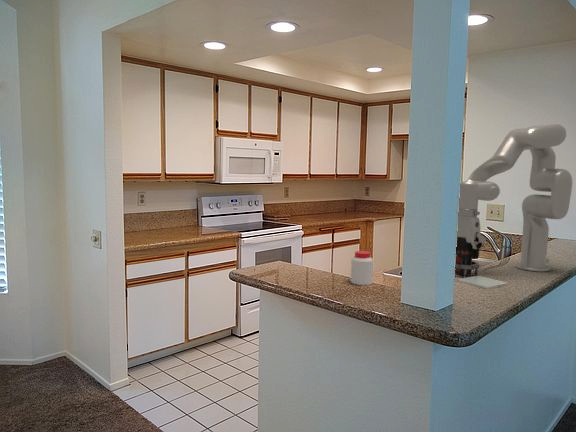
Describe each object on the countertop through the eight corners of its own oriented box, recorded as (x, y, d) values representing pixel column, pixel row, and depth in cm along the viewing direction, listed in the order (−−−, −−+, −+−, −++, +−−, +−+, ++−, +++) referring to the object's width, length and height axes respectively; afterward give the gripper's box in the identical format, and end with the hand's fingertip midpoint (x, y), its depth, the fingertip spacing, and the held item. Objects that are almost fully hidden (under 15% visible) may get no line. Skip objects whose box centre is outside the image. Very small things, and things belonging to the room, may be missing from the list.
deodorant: (472, 276, 171) (474, 238, 169) (456, 275, 172) (458, 238, 170) (469, 273, 177) (471, 236, 175) (453, 272, 178) (456, 235, 176)
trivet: (477, 277, 170) (478, 275, 170) (507, 284, 160) (507, 282, 160) (457, 281, 163) (458, 279, 163) (487, 289, 153) (487, 286, 153)
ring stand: (459, 270, 182) (460, 258, 181) (483, 276, 173) (484, 263, 172) (442, 273, 176) (443, 260, 175) (466, 279, 167) (466, 266, 166)
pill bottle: (359, 278, 165) (360, 249, 164) (376, 282, 160) (377, 252, 158) (346, 281, 160) (347, 252, 158) (363, 286, 154) (365, 255, 153)
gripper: (493, 215, 166) (489, 259, 168) (454, 210, 181) (451, 251, 183) (480, 216, 162) (477, 261, 164) (442, 211, 177) (439, 253, 179)
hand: (464, 256), depth 174 cm, fingers open, 9 cm apart
